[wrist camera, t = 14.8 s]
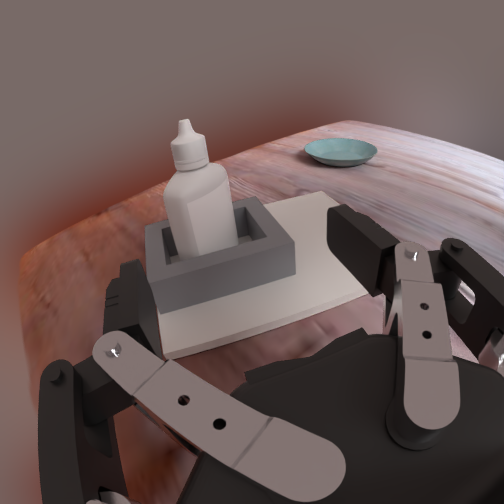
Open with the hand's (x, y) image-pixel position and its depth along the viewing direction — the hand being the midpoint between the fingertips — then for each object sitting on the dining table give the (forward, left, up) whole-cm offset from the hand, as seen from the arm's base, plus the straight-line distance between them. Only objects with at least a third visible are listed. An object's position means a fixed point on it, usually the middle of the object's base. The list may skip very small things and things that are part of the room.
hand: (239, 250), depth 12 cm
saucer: (-24, -30, -9) cm, 40 cm away
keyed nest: (-4, -11, -9) cm, 15 cm away
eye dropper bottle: (0, -11, -8) cm, 14 cm away
